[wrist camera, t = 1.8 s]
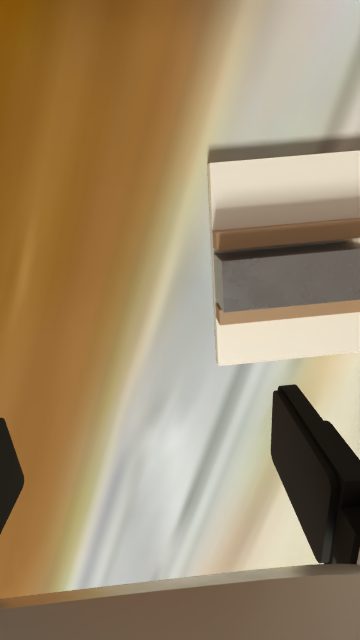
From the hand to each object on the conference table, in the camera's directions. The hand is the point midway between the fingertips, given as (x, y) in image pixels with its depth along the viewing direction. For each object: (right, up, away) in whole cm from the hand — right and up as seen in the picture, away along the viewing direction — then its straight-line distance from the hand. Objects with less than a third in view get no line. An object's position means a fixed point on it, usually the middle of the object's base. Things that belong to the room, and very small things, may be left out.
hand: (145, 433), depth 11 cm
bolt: (+10, +8, +16) cm, 21 cm away
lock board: (+16, +9, +18) cm, 26 cm away
